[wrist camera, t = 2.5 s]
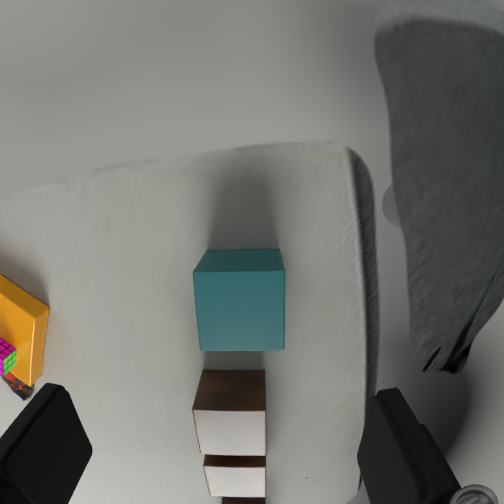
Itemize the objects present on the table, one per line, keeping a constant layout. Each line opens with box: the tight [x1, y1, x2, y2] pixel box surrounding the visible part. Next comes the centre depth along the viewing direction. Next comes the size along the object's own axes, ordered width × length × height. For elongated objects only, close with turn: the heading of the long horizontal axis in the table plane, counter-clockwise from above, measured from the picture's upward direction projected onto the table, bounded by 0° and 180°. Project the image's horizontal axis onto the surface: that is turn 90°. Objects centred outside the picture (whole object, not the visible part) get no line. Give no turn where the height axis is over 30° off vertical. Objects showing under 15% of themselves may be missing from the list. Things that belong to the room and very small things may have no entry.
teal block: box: [193, 249, 285, 351], centre depth 19 cm, size 5×5×5 cm
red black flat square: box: [0, 372, 34, 401], centre depth 24 cm, size 5×5×1 cm
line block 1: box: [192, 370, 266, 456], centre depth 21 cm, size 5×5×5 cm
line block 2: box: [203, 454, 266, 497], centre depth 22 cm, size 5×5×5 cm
